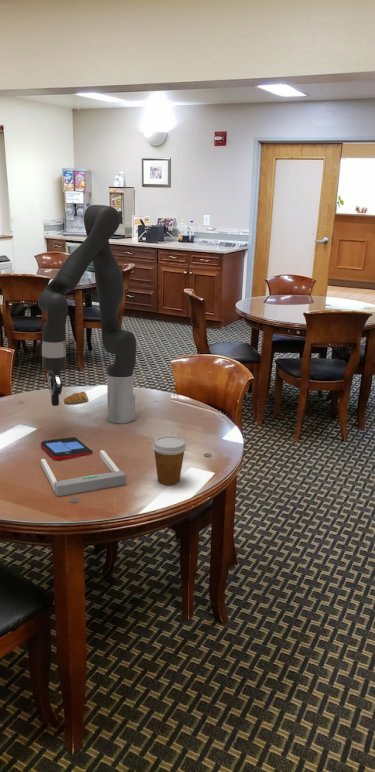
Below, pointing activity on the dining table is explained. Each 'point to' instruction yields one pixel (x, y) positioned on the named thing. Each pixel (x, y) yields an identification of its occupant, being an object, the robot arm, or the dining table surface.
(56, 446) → the game console
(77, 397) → the pastry
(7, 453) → the dining table surface
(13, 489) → the dining table surface
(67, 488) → the charging dock
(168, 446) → the disposable coffee cup
